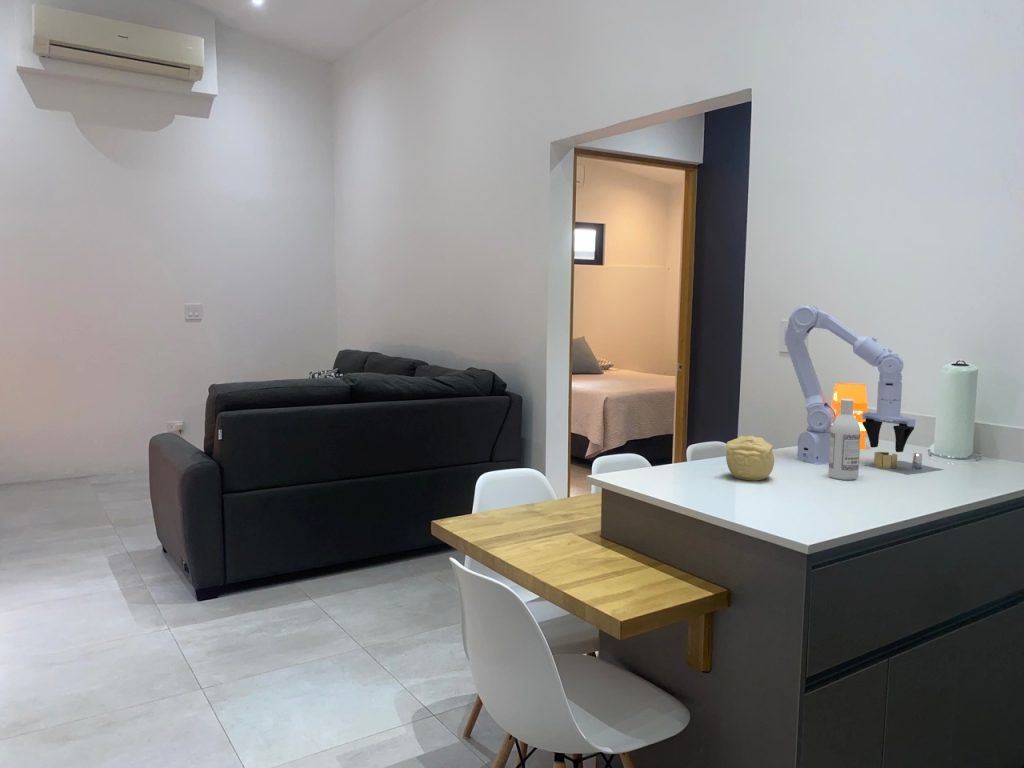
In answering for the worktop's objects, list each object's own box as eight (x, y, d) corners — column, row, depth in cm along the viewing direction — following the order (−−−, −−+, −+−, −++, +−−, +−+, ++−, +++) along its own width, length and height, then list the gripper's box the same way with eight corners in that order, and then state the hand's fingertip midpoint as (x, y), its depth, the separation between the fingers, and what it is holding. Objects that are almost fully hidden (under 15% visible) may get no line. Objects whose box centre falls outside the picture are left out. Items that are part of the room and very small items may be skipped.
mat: (907, 476, 193) (907, 474, 193) (863, 466, 204) (863, 465, 204) (944, 471, 199) (944, 469, 199) (899, 461, 211) (899, 460, 211)
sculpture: (721, 479, 187) (722, 437, 186) (731, 470, 198) (732, 430, 196) (769, 485, 182) (771, 441, 181) (776, 475, 192) (778, 434, 191)
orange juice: (865, 450, 228) (869, 385, 226) (834, 449, 230) (837, 384, 228) (858, 445, 236) (862, 382, 234) (829, 444, 238) (832, 381, 236)
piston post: (917, 469, 199) (918, 454, 199) (910, 468, 201) (911, 453, 201) (923, 468, 200) (924, 454, 200) (915, 467, 202) (916, 452, 202)
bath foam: (863, 478, 190) (867, 399, 188) (849, 481, 186) (854, 401, 184) (836, 473, 195) (840, 397, 193) (823, 476, 191) (827, 399, 189)
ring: (887, 469, 199) (888, 456, 198) (869, 465, 203) (870, 452, 203) (900, 467, 201) (901, 454, 201) (882, 464, 206) (883, 451, 205)
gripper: (924, 401, 196) (921, 452, 197) (875, 395, 209) (872, 443, 210) (906, 402, 193) (903, 454, 194) (858, 397, 205) (855, 445, 207)
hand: (886, 449), depth 202 cm, fingers open, 7 cm apart
